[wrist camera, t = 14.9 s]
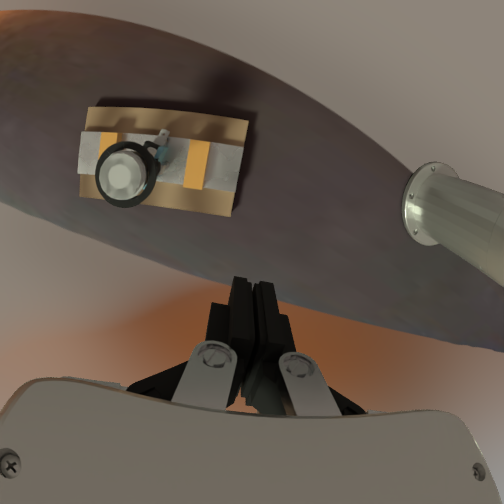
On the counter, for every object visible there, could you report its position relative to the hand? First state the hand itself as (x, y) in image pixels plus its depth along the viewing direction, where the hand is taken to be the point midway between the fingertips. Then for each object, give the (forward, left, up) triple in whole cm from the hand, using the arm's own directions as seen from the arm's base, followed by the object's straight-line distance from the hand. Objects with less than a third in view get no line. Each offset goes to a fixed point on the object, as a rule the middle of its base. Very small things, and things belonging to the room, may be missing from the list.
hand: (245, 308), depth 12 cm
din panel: (+10, -4, -22) cm, 25 cm away
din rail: (+10, -4, -21) cm, 23 cm away
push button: (+9, -4, -20) cm, 23 cm away
